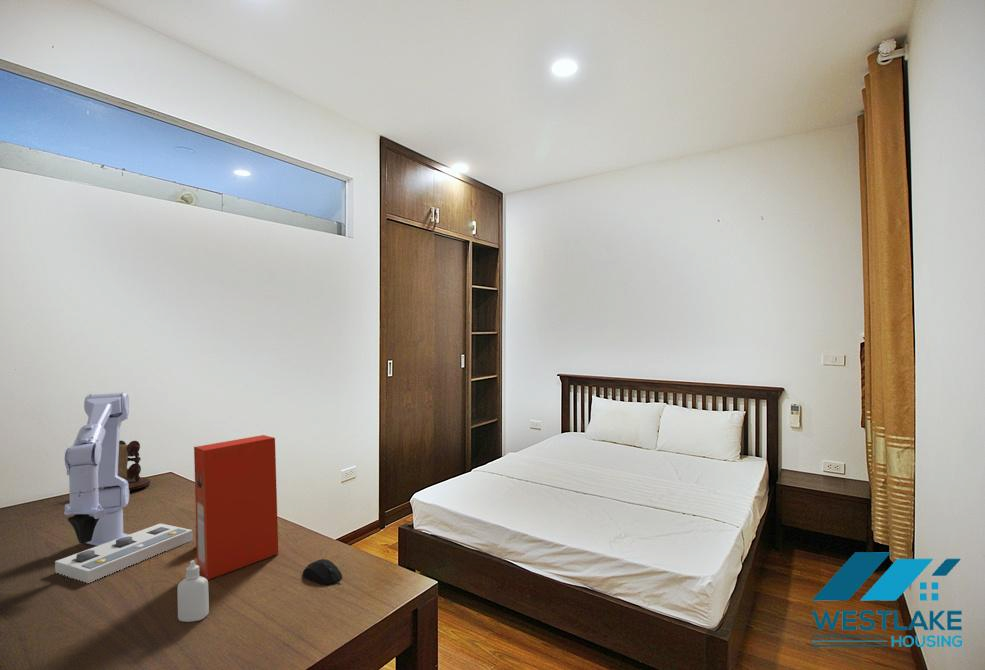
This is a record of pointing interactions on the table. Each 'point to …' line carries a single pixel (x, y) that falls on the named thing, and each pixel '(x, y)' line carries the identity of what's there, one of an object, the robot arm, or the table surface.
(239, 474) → the file binder
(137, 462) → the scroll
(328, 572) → the gaming mouse
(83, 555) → the button
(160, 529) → the button
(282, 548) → the table surface
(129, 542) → the button middle
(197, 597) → the eye dropper bottle
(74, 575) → the button board
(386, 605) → the table surface
